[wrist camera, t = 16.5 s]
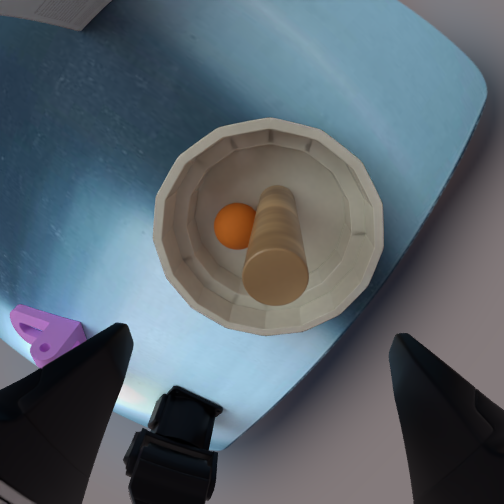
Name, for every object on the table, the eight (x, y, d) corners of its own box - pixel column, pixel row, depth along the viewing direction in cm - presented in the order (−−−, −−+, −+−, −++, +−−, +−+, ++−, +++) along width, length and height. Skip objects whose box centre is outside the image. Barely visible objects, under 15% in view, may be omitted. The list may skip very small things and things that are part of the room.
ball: (257, 214, 21) (269, 249, 19) (217, 228, 21) (226, 263, 19) (249, 187, 18) (262, 223, 17) (204, 202, 18) (212, 240, 17)
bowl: (395, 198, 19) (425, 221, 15) (288, 319, 24) (288, 362, 20) (244, 83, 17) (233, 71, 12) (151, 234, 22) (122, 264, 18)
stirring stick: (301, 208, 19) (320, 289, 10) (271, 225, 20) (264, 316, 11) (282, 178, 19) (287, 236, 10) (252, 196, 19) (228, 269, 10)
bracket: (80, 322, 27) (48, 364, 21) (93, 357, 30) (67, 398, 23) (10, 300, 28) (-20, 330, 22) (24, 333, 30) (-3, 364, 24)
